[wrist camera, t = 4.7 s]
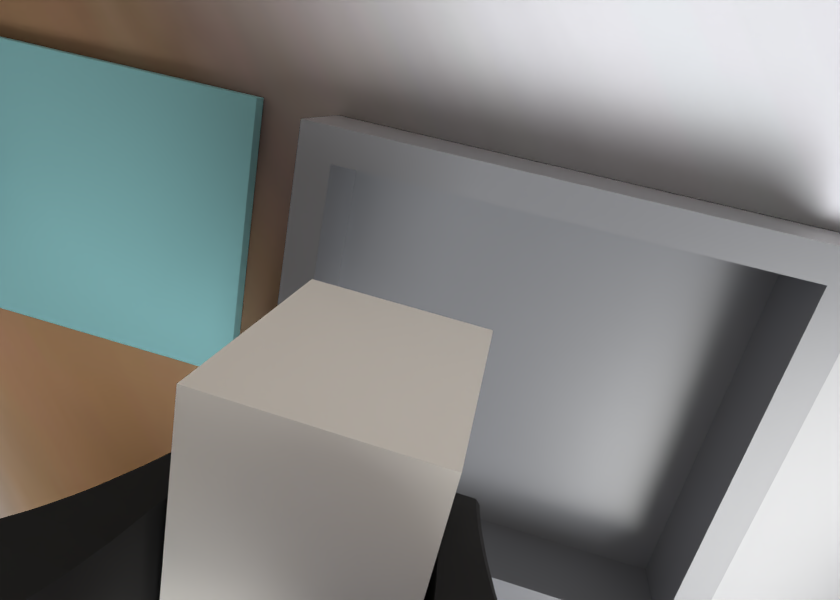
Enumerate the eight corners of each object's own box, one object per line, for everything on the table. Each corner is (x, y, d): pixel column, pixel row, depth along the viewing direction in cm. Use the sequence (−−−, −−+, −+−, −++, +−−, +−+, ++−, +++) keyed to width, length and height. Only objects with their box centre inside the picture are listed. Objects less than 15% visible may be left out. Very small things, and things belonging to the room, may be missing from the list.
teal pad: (236, 369, 22) (229, 375, 22) (5, 301, 24) (-6, 306, 23) (263, 97, 19) (256, 98, 18) (-11, 33, 20) (-24, 32, 19)
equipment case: (1103, 727, 20) (1192, 828, 17) (284, 472, 24) (250, 523, 21) (1439, 372, 15) (1641, 436, 12) (337, 115, 19) (300, 118, 16)
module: (420, 580, 15) (363, 803, 10) (271, 530, 15) (150, 721, 10) (492, 330, 12) (461, 472, 8) (311, 278, 13) (176, 383, 8)
